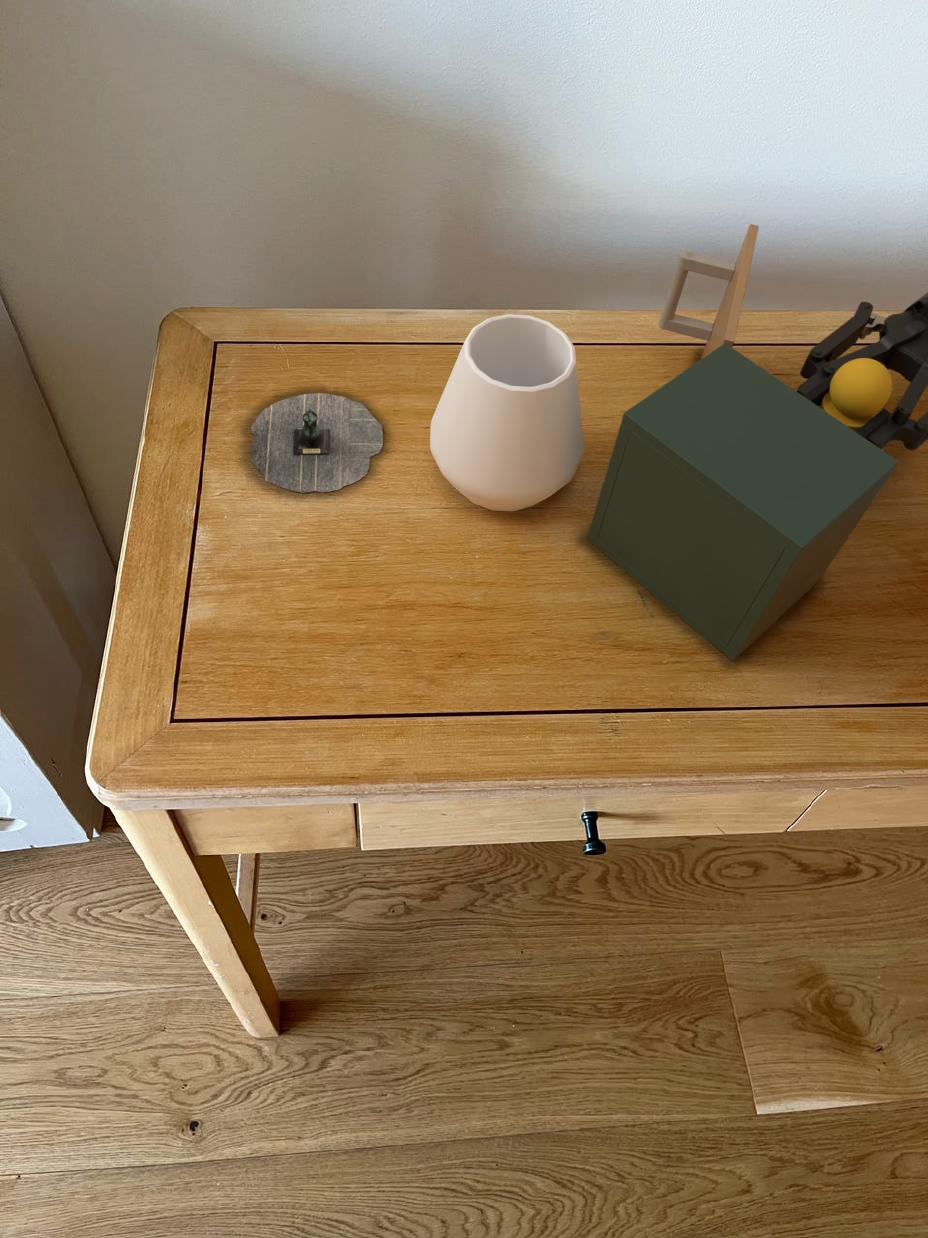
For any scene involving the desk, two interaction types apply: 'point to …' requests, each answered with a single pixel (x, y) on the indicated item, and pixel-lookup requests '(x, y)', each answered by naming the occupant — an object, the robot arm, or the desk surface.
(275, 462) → the sculpture
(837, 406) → the toy
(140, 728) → the desk surface
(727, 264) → the cabinet door
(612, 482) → the cabinet
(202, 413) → the desk surface
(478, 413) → the white tapered cylinder
